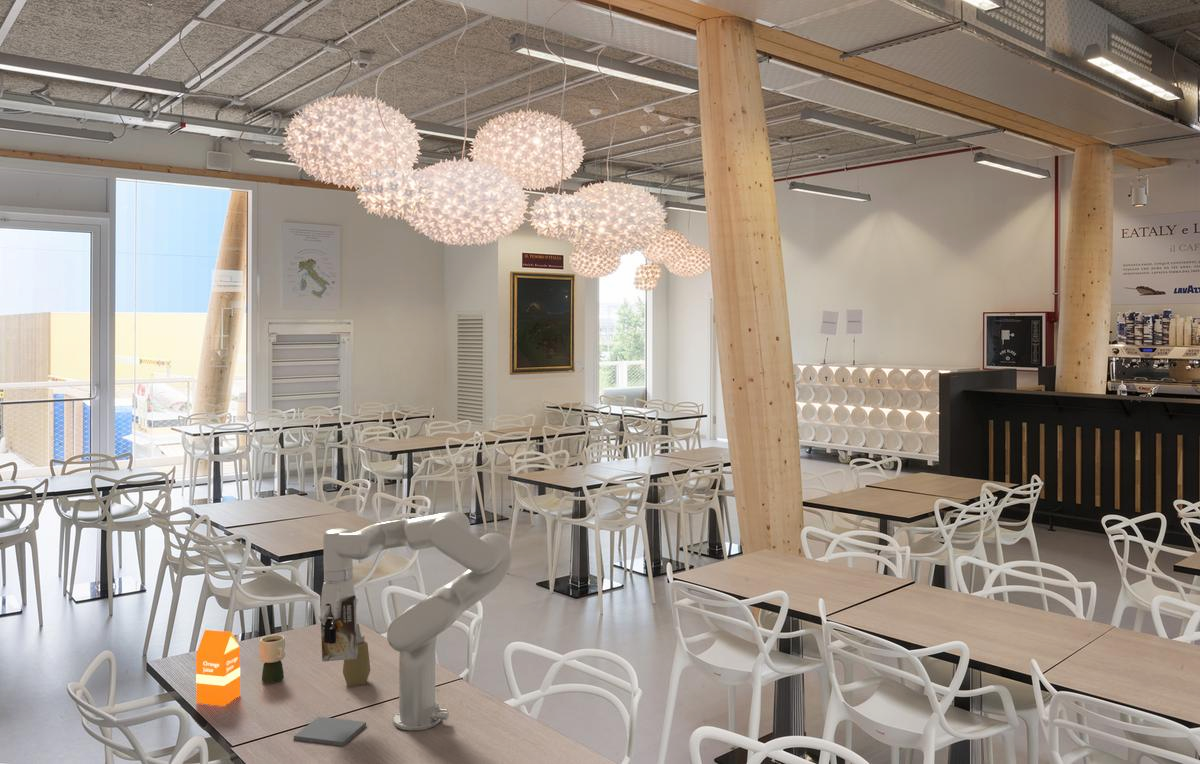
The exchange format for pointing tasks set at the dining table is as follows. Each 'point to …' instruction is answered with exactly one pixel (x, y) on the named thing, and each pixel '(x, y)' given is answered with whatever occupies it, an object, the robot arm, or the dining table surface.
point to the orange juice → (218, 668)
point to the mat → (330, 731)
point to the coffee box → (342, 634)
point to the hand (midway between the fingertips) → (339, 637)
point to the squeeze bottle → (358, 663)
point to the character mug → (272, 657)
